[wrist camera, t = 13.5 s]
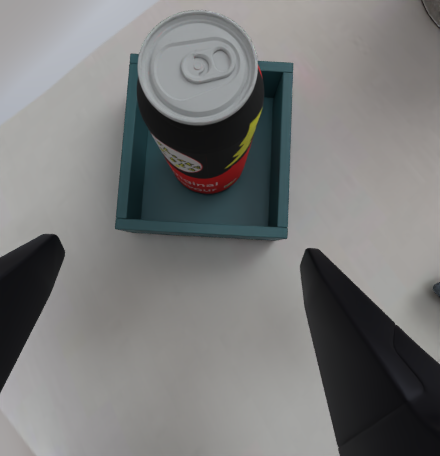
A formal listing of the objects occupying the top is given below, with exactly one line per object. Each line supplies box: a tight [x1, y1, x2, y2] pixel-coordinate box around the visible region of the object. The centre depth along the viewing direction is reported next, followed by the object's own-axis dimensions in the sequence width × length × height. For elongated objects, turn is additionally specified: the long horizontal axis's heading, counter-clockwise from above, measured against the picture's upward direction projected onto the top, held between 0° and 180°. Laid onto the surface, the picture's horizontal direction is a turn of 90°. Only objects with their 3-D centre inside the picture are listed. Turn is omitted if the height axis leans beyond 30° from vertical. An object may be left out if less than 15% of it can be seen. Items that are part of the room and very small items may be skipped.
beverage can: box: [137, 10, 264, 194], centre depth 17 cm, size 6×6×12 cm
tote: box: [115, 54, 293, 241], centre depth 22 cm, size 14×13×4 cm
